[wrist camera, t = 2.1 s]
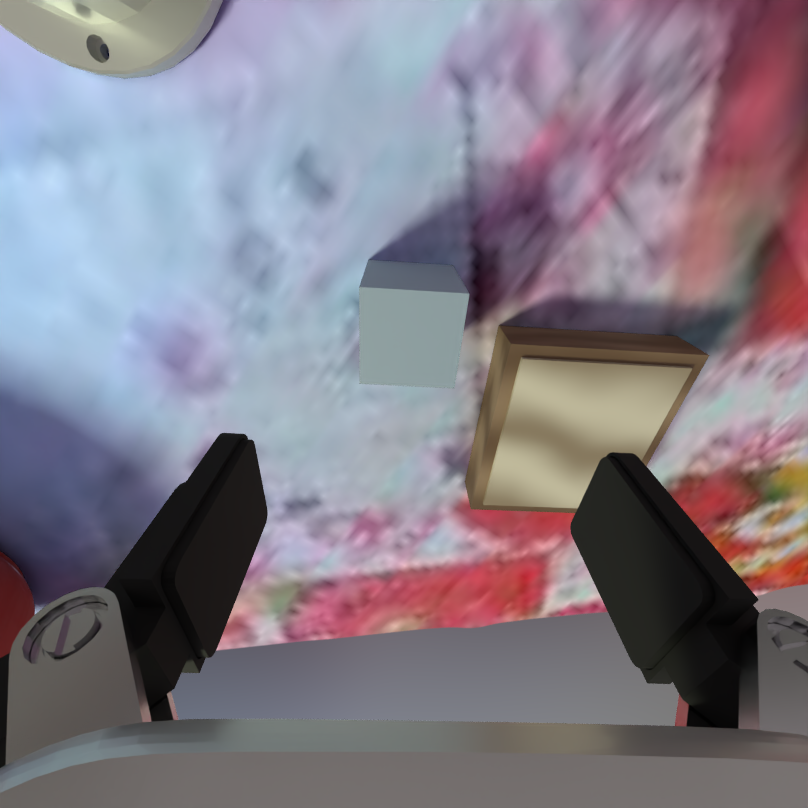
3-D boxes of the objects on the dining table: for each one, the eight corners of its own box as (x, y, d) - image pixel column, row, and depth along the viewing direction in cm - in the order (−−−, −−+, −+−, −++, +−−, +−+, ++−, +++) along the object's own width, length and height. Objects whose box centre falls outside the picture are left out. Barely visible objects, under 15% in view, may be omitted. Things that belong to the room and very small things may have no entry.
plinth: (498, 325, 24) (512, 345, 21) (676, 336, 24) (712, 357, 21) (465, 481, 31) (471, 511, 28) (601, 487, 32) (620, 516, 29)
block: (368, 259, 21) (359, 286, 16) (452, 265, 22) (469, 293, 16) (367, 339, 24) (359, 383, 19) (442, 343, 24) (454, 388, 19)
